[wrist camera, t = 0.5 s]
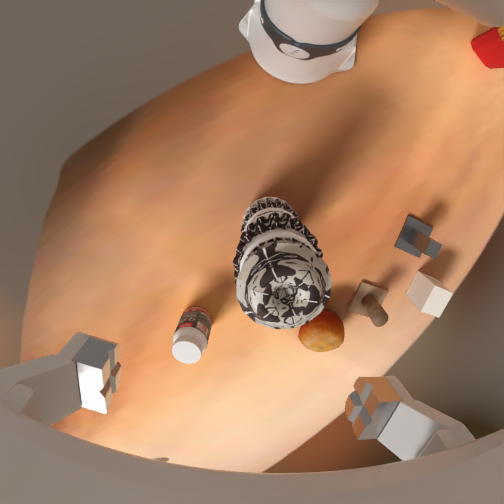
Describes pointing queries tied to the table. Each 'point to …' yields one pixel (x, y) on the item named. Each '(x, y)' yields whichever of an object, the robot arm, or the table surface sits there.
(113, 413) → the table surface
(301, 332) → the fruit
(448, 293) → the white rectangular block
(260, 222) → the black white cylinder
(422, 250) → the grey square post stand
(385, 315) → the knob on square plate
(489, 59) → the french fries
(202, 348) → the pill bottle
